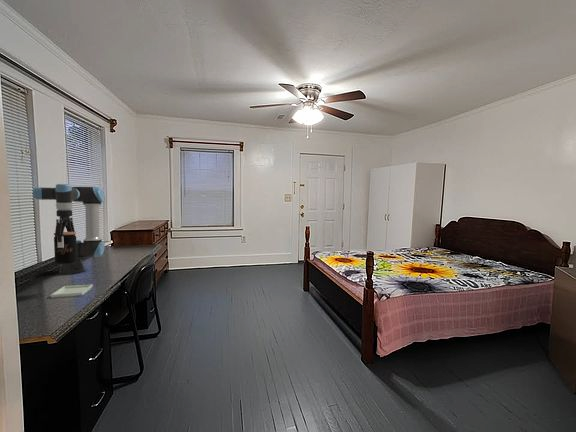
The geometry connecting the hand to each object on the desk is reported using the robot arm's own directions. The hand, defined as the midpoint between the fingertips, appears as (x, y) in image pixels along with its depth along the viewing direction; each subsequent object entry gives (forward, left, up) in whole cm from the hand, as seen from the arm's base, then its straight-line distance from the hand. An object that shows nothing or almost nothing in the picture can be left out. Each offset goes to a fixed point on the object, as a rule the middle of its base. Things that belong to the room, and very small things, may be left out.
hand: (65, 246), depth 170 cm
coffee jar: (0, 0, -10) cm, 10 cm away
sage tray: (+4, +4, -28) cm, 28 cm away
